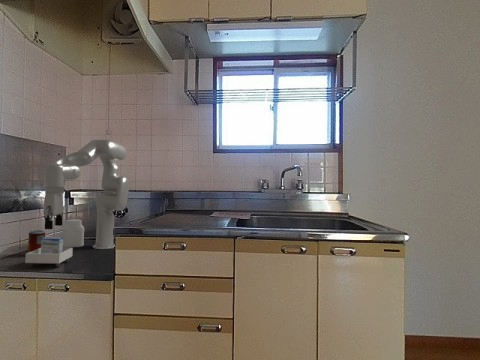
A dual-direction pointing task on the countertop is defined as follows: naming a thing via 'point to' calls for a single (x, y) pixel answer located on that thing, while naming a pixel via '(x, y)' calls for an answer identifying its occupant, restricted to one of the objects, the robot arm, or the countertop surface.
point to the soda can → (35, 240)
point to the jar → (73, 233)
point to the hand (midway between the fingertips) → (53, 227)
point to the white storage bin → (48, 257)
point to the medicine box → (52, 245)
